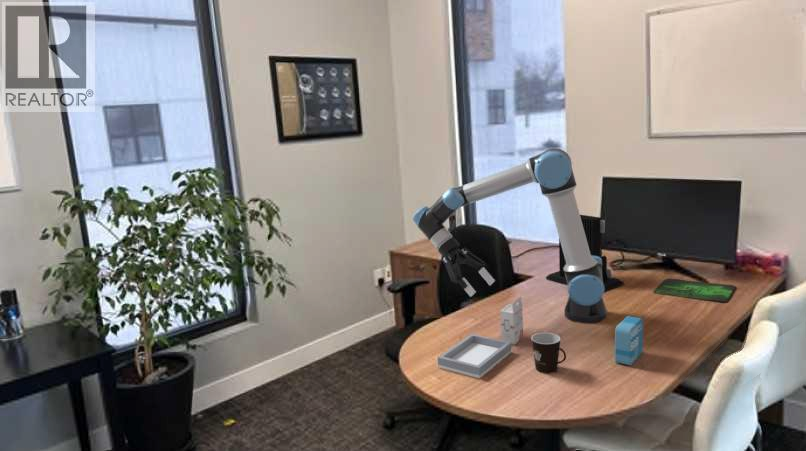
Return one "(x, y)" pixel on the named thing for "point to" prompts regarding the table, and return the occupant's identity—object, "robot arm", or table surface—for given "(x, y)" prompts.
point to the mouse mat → (695, 290)
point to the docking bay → (474, 355)
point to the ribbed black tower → (593, 236)
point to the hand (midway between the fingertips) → (483, 288)
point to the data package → (628, 340)
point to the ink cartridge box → (512, 322)
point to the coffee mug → (546, 352)
